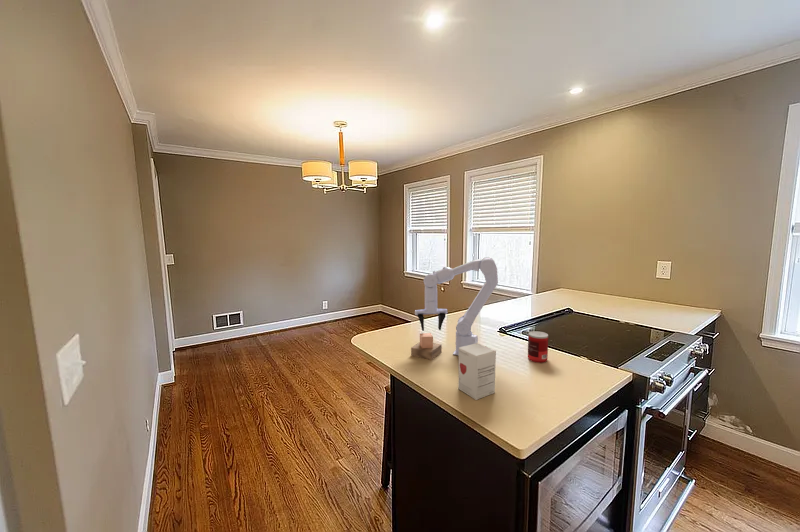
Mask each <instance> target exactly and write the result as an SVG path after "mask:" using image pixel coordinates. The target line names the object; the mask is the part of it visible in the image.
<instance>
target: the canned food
mask: <svg viewBox="0 0 800 532" xmlns="http://www.w3.org/2000/svg"><path fill="white" fill-rule="evenodd" d="M527 336H528V337H527V340H528V341H527V359H528V360H529V361H530V362H533V363H537V364H542V363H546V362H547V361H548V358H549V357H548V354H549V353H548V352H549V334H548V333H546V332H544V331H539V330H538V331H537V330H536V331H535V330H534V331H530V332H528V335H527Z"/></svg>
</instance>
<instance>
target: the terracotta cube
mask: <svg viewBox="0 0 800 532" xmlns="http://www.w3.org/2000/svg"><path fill="white" fill-rule="evenodd" d="M419 342H420V346H421V348H433V343H434V336H433V334H432V332H424V333H422V332H421V333H419Z"/></svg>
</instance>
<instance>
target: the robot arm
mask: <svg viewBox="0 0 800 532" xmlns="http://www.w3.org/2000/svg"><path fill="white" fill-rule="evenodd" d="M470 271H475V272H480V271H481V273H482V274H483V276H484V277H483V278H484V280H485V283H483V285H482V286H481V288H480V290H479V291H478V293H477V295H476V296H475V298H474V299H473V301H472V303H471V304H470V306H469V307H468V309H467V310H466V311H465V313H464V314H463V315H462V316H460V317H459V318H458V319H457V324H456V326H455V330H456V331H455V350H454V351H453V353H452V355H454V356H459V348H460V347H463V346H467V345H471V344H475V343H478V344H479V342H478V341H479V338H478V335H477V334H474V333H473V331H472V326H473V324H474V322H475V320H476V318H477V317H478V315H479V314H480V312H481V311H482V309H483V308H484V306H485V304H486V303H487V301H488V299H490V297H491V295H492V293H493V292H494V290H496V287H497V286H498V283H499V280H498V267H497V264H496V262H495V260H494V259H493V258H492V257H489V256H486V257H483V258H478V259H474V260H471V261H469V262H466V263H464V264H461V265H458V266H456V267H454V268H452V267H449V266H447V267H446V266H442V269H440V270H436V271H435V270H434V271H432V272H430V273H428V274H426V275H425V276H424V277H423V284H424V308H423V309H415V310H414V315H415V316H417V318H418V320H419V323H420V327H421V331H423V332H424V331H425V322H424V321H425V317H424V315H437V316H438V317H437V318H438V319H437V320H438V322H437V323H438V325H437V327H438V330H439V331H441V330H442V326H443V323H444V320H445V319H446V315H448V309H447V308H438V285H440V284H443V283H446V282H449V281H451V280H453V279H454V278H455V276H457V275H460V274H464V273H468V272H470ZM437 284H438V285H437Z"/></svg>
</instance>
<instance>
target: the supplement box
mask: <svg viewBox="0 0 800 532" xmlns="http://www.w3.org/2000/svg"><path fill="white" fill-rule="evenodd" d="M496 355H497V350H495V349H492V348H490V347H488V346H487V345H486V346H485V345H483V344H481V343H479V342H478V343H475V344H471V345H467V346H463V347H460V348H459V355H458V383H457V384H458V390H460V391H461V392H463V393H465V394H466V395H468V396H469V397H471V398H472V399H473V400H475V401H477V400H480V399H483V398H484V397H487V396H490V395H492V394H494V393H496V360H497V356H496Z"/></svg>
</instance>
